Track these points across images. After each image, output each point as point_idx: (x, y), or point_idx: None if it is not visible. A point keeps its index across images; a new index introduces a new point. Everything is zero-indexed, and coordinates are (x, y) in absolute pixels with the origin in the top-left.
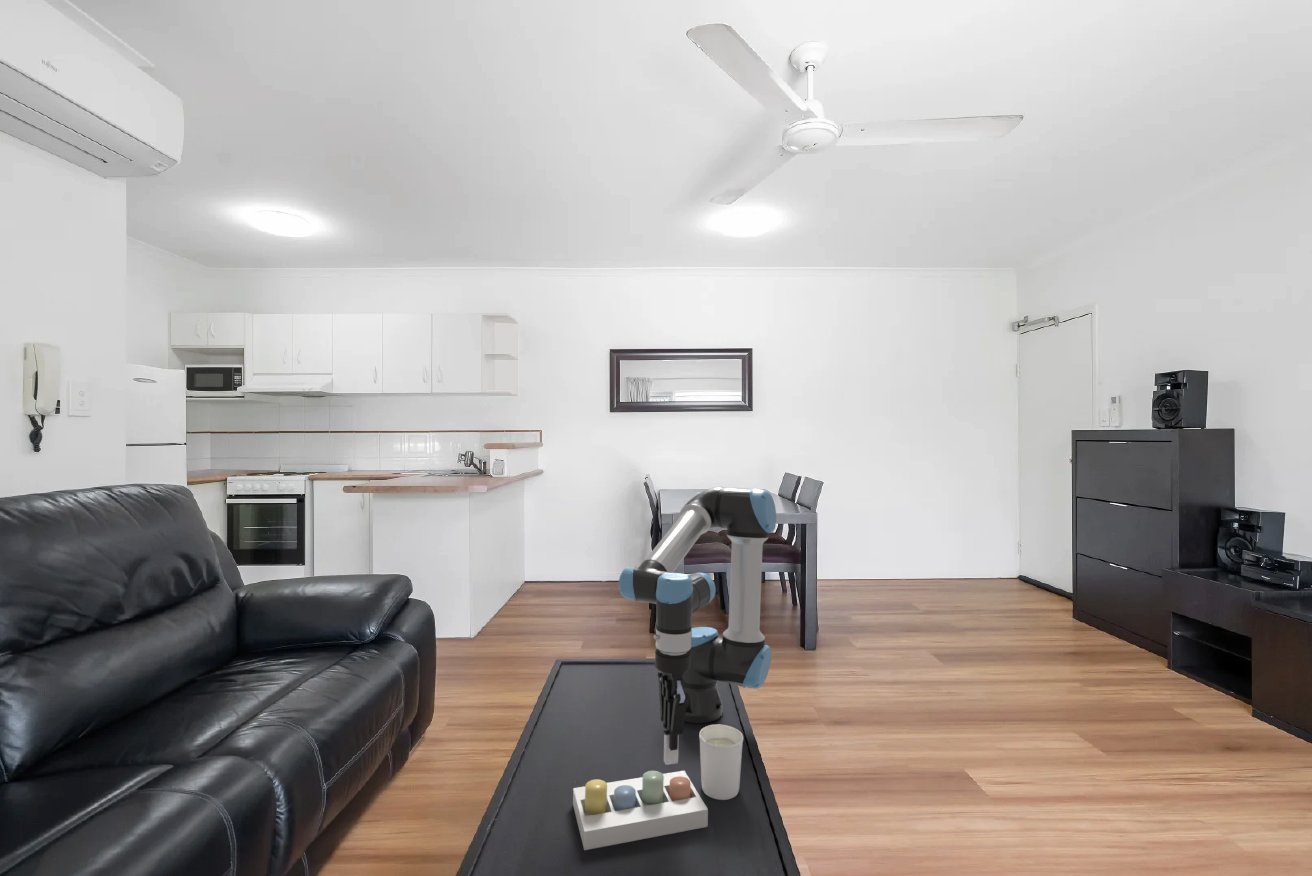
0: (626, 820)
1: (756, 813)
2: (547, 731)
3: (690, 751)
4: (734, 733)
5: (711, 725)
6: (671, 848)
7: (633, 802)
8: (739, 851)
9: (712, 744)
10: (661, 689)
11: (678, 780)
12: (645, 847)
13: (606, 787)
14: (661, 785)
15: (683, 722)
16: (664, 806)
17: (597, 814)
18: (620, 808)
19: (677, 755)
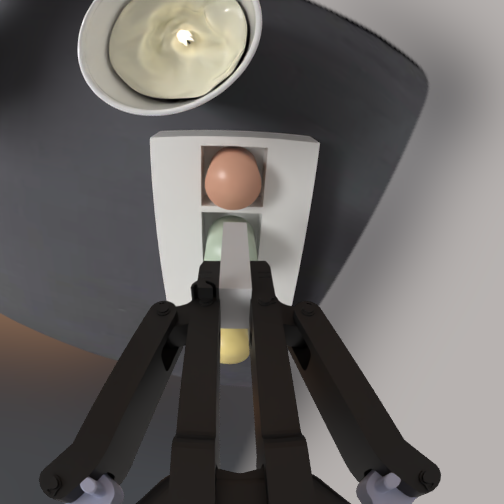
0: (284, 296)
1: (308, 22)
2: (14, 310)
3: (45, 87)
4: None
5: (80, 49)
6: (332, 221)
7: None
8: (387, 118)
9: (224, 87)
10: (135, 455)
11: (222, 185)
12: (311, 256)
13: (239, 342)
14: (253, 244)
15: (345, 352)
16: (273, 227)
17: None
18: None
19: (246, 236)
